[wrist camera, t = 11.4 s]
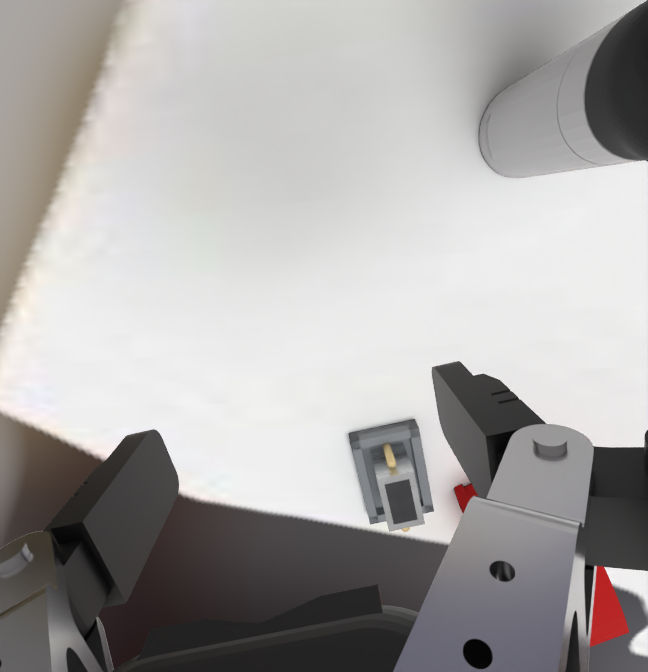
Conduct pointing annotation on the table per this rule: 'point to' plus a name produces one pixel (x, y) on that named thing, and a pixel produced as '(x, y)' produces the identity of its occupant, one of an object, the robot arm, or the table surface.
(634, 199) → the table surface
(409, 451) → the tray
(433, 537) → the table surface
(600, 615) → the fire alarm
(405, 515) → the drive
